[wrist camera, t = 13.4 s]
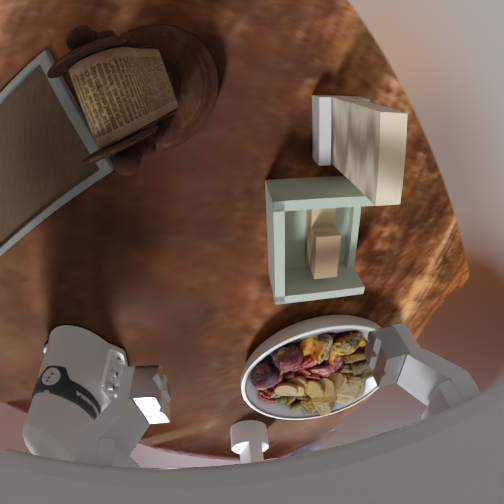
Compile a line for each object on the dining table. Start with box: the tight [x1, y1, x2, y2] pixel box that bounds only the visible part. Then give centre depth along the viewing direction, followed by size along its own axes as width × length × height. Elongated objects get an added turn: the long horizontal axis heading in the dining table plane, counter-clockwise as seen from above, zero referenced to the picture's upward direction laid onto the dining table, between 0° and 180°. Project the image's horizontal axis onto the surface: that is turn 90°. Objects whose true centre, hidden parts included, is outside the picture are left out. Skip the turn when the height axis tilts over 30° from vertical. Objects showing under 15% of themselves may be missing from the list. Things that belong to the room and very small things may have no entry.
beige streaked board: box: [328, 96, 407, 206], centre depth 29 cm, size 8×2×14 cm, turn 4°
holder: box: [312, 95, 370, 166], centre depth 34 cm, size 8×6×3 cm
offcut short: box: [310, 226, 341, 279], centre depth 39 cm, size 6×3×2 cm, turn 3°
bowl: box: [241, 315, 382, 420], centre depth 56 cm, size 30×30×8 cm
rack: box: [265, 176, 375, 304], centre depth 40 cm, size 14×12×7 cm
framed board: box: [0, 50, 114, 256], centre depth 34 cm, size 19×2×30 cm
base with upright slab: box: [231, 420, 269, 464], centre depth 66 cm, size 9×9×12 cm
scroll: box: [47, 24, 219, 176], centre depth 23 cm, size 15×15×20 cm
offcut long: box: [305, 208, 336, 271], centre depth 41 cm, size 9×3×3 cm, turn 3°
